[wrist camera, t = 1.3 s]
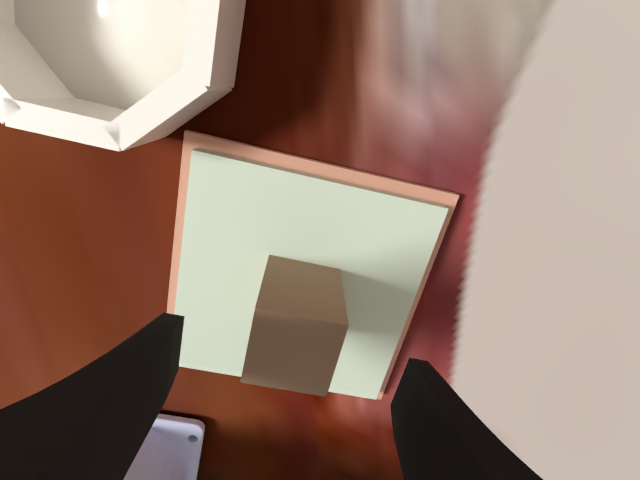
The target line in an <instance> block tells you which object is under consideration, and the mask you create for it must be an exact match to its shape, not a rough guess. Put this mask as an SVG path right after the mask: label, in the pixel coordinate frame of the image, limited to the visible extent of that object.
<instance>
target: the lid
mask: <svg viewBox="0 0 640 480" xmlns="http://www.w3.org/2000/svg"><path fill="white" fill-rule="evenodd" d="M447 212H448V208H447V207H446V206H445V205H444V204H440V203H435V202H431V201H427V200H422V199H418V198H414V197H409V196H405V195H401V194H396V193H392V192H388V191H383V190H379V189H375V188H370V187H366V186H362V185H357V184H353V183H349V182H344V181H340V180H336V179H331V178H327V177H323V176H318V175H314V174H310V173H305V172H301V171H297V170H292V169H288V168H284V167H279V166H275V165H270V164H266V163H262V162H257V161H253V160H249V159H244V158H240V157H236V156H231V155H227V154H223V153H218V152H214V151H210V150H205V149H201V148H197V147H196V148H194V149H192V151H191V161H190V170H189V179H188V189H187V198H186V208H185V217H184V226H183V236H182V245H181V255H180V264H179V273H178V283H177V292H176V302H175V311H174V314H175V315H180V316H185V317H184V326H183V334H182V343H181V351H180V360H179V366H180V367H186V368H192V369H198V370H204V371H210V372H216V373H222V374H228V375H234V376H239V377H241V381H240V382H241V383H247V384H253V385H259V386H265V387H271V388H277V389H283V390H289V391H295V392H301V393H307V394H313V395H319V396H325V397H327V394H328V392H334V393H340V394H346V395H352V396H358V397H363V398H369V399H375V400H376V399H377V396H378V394H379V391H380V388H381V386H382V383H383V380H384V378H385V375H386V372H387V370H388V367H389V365H390V362H391V359H392V357H393V354H394V351H395V349H396V346H397V343H398V341H399V338H400V336H401V333H402V330H403V328H404V325H405V322H406V320H407V317H408V315H409V312H410V309H411V307H412V304H413V301H414V299H415V296H416V293H417V291H418V288H419V286H420V283H421V280H422V278H423V275H424V272H425V270H426V267H427V264H428V262H429V259H430V257H431V254H432V251H433V249H434V246H435V243H436V241H437V238H438V236H439V233H440V230H441V228H442V225H443V222H444V220H445V217H446V214H447Z"/></svg>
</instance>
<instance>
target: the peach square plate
mask: <svg viewBox="0 0 640 480" xmlns="http://www.w3.org/2000/svg"><path fill="white" fill-rule="evenodd" d="M196 147H197V148H201V149H205V150H210V151H214V152H218V153H223V154H227V155H231V156H236V157H240V158H244V159H249V160H253V161H257V162H262V163H266V164H270V165H275V166H279V167H284V168H288V169H292V170H297V171H301V172H305V173H310V174H314V175H318V176H323V177H327V178H331V179H336V180H340V181H344V182H349V183H353V184H357V185H362V186H366V187H370V188H375V189H379V190H383V191H388V192H392V193H396V194H401V195H405V196H409V197H414V198H418V199H422V200H427V201H431V202H435V203H440V204H444V205H445V206H446V207H447V208H448V212H447V214H446V217H445V220H444V222H443V225H442V228H441V230H440V233H439V236H438V238H437V241H436V243H435V246H434V249H433V251H432V254H431V257H430V259H429V262H428V264H427V267H426V270H425V272H424V275H423V278H422V280H421V283H420V286H419V288H418V291H417V293H416V296H415V299H414V301H413V304H412V307H411V309H410V312H409V315H408V317H407V320H406V322H405V325H404V328H403V330H402V333H401V336H400V338H399V341H398V343H397V346H396V349H395V351H394V354H393V357H392V359H391V362H390V365H389V367H388V370H387V372H386V375H385V378H384V380H383V383H382V386H381V388H380V391H379V394H378V396H377V399H381V398H382V395H383V393H384V390H385V388H386V385H387V382H388V380H389V377H390V375H391V372H392V369H393V367H394V364H395V362H396V359H397V356H398V354H399V351H400V349H401V346H402V343H403V341H404V338H405V336H406V333H407V331H408V328H409V325H410V323H411V320H412V318H413V315H414V312H415V310H416V307H417V305H418V302H419V299H420V297H421V294H422V292H423V289H424V286H425V284H426V281H427V279H428V276H429V273H430V271H431V268H432V266H433V263H434V261H435V258H436V255H437V253H438V250H439V248H440V245H441V242H442V240H443V237H444V235H445V232H446V229H447V227H448V224H449V222H450V219H451V216H452V214H453V211H454V209H455V206H456V204H457V201H458V198H459V196H460V195H458V194H457V193H454V192H450V191H446V190H441V189H437V188H433V187H429V186H424V185H420V184H416V183H412V182H407V181H403V180H399V179H395V178H390V177H386V176H382V175H378V174H373V173H369V172H365V171H361V170H356V169H352V168H348V167H343V166H339V165H335V164H331V163H326V162H322V161H318V160H314V159H309V158H305V157H301V156H297V155H292V154H288V153H284V152H280V151H275V150H271V149H267V148H263V147H258V146H254V145H250V144H245V143H241V142H237V141H233V140H228V139H224V138H220V137H216V136H211V135H207V134H203V133H199V132H194V131H190V130H186V131H184V140H183V150H182V161H181V171H180V181H179V191H178V202H177V212H176V222H175V232H174V243H173V253H172V263H171V273H170V284H169V294H168V304H167V313H170V314H174V311H175V302H176V292H177V283H178V273H179V264H180V255H181V245H182V236H183V226H184V217H185V208H186V198H187V189H188V179H189V170H190V161H191V151H192V149H194V148H196Z"/></svg>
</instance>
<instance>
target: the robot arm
mask: <svg viewBox="0 0 640 480" xmlns="http://www.w3.org/2000/svg"><path fill="white" fill-rule="evenodd" d="M184 317H185V316H180V315H175V314H170V313H163V314H161V315H160V316H158V317H157V318H155V319H154V320H153V321H151V322H150V323H149V324H147V325H146V326H145V327H143V328H142V329H140V330H139V331H138V332H136V333H135V334H133V335H132V336H131V337H129V338H128V339H126V340H125V341H123V342H122V343H120V344H119V345H118V346H116V347H115V348H113V349H112V350H110V351H109V352H107V353H106V354H104V355H103V356H101V357H99V358H98V359H96V360H94V361H93V362H91V363H90V364H88V365H86V366H85V367H83V368H81V369H80V370H78V371H77V372H75V373H73V374H71V375H70V376H68V377H66V378H64V379H62V380H61V381H59V382H57V383H55V384H53V385H51V386H49V387H47V388H45V389H43V390H42V391H40V392H38V393H36V394H33V395H31V396H29V397H27V398H25V399H23V400H20V401H18V402H16V403H14V404H11V405H9V406H7V407H5V408H3V409H0V480H197V474H198V468H199V462H200V456H201V450H202V444H203V438H204V432H205V425H204V423H203V422H202V421H200V420H197V419H191V418H184V417H178V416H172V415H165V414H159V412H160V410H161V409H162V407H163V405H164V403H165V401H166V399H167V396H168V394H169V391H170V389H171V387H172V384H173V381H174V379H175V376H176V374H177V371H178V368H179V360H180V351H181V343H182V334H183V326H184ZM391 415H392V425H393V433H394V439H395V444H396V448H397V452H398V456H399V461H400V465H401V469H402V473H403V477H404V480H543V479H542V478H540V477H539V476H538V475H537V474H536V473H535V472H534V471H532V470H531V469H530V468H529V467H528V466H527V465H526V464H525V463H524V462H523V461H521V460H520V459H519V458H518V457H517V456H516V455H515V454H514V453H513V452H511V451H510V450H509V449H508V448H507V447H506V446H505V445H504V444H503V443H502V442H501V441H500V440H499V439H498V438H497V437H496V436H495V435H494V434H493V433H492V432H491V431H490V430H489V429H488V428H487V427H486V426H485V424H484V423H483V422H482V421H481V420H480V419H479V418H478V417H477V416H476V415H475V414H474V413H473V411H472V410H471V409H470V408H469V407H468V406H467V405H466V404H465V403H464V402H463V401H462V399H461V398H460V397H459V396H458V395H457V394H456V392H455V391H454V390H453V389H452V388H451V387H450V386H449V384H448V383H447V382H446V381H445V380H444V379H443V378H442V376H441V375H440V374H439V373H438V372H437V371H436V370H435V369H434V368H433V366H432V365H431V364H430V363H429V362H428V361H424V360H418V359H413V358H409V361H408V363H407V365H406V368H405V370H404V373H403V375H402V378H401V380H400V383H399V385H398V388H397V390H396V393H395V395H394V398H393V400H392V403H391ZM193 435H194V436H193Z"/></svg>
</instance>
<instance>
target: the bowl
mask: <svg viewBox="0 0 640 480" xmlns="http://www.w3.org/2000/svg"><path fill="white" fill-rule="evenodd" d="M245 5H246V0H0V122H1V123H2V124H4V123H5V126H8V127H12V128H17V129H21V130H26V131H30V132H35V133H39V134H44V135H48V136H52V137H57V138H61V139H66V140H70V141H75V142H79V143H84V144H88V145H93V146H97V147H101V148H106V149H110V150H115V151H124V150H127V149H130V148H133V147H136V146H139V145H142V144H145V143H149V142H152V141H155V140H158V139H161V138H164V137H166V136H168V135H169V134H171V133H172V132H173V131H175V130H176V129H178V128H179V127H181V126H182V125H183V124H185V123H186V122H188V121H189V120H191V119H192V118H193V117H195V116H196V115H198V114H199V113H201V112H202V111H203V110H205V109H206V108H208V107H209V106H211V105H212V104H213V103H215V102H216V101H218V100H219V99H220V98H222V97H223V96H225V95H226V94H228V93H229V92H230V91H232V88H234V84H235V77H236V70H237V62H238V55H239V48H240V41H241V34H242V26H243V19H244V12H245ZM231 87H232V88H231Z"/></svg>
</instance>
